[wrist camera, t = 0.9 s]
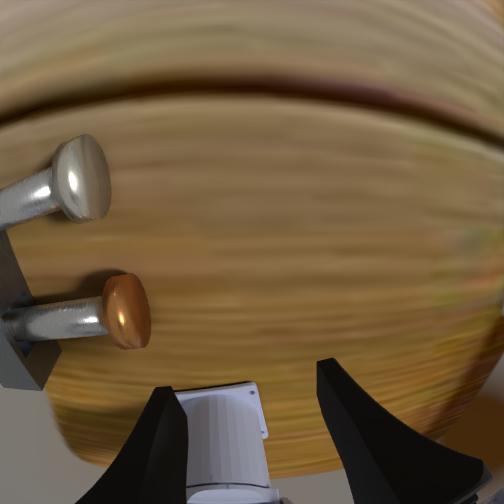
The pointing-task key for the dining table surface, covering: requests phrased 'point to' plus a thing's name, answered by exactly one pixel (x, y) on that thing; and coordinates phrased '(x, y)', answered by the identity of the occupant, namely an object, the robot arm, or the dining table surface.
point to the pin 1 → (62, 186)
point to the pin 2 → (89, 316)
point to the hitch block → (24, 352)
